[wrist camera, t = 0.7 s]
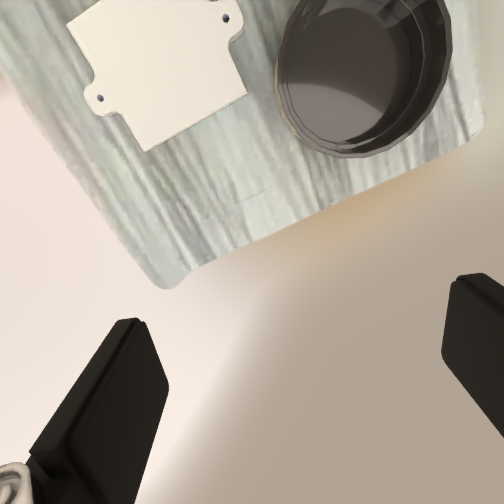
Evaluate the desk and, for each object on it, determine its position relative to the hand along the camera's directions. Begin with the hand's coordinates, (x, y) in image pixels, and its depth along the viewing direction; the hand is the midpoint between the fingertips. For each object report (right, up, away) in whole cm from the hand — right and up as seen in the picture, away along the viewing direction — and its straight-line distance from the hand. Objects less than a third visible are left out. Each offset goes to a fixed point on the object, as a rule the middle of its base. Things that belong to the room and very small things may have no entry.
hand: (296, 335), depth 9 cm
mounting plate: (-11, +23, +22) cm, 33 cm away
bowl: (+9, +21, +22) cm, 32 cm away
